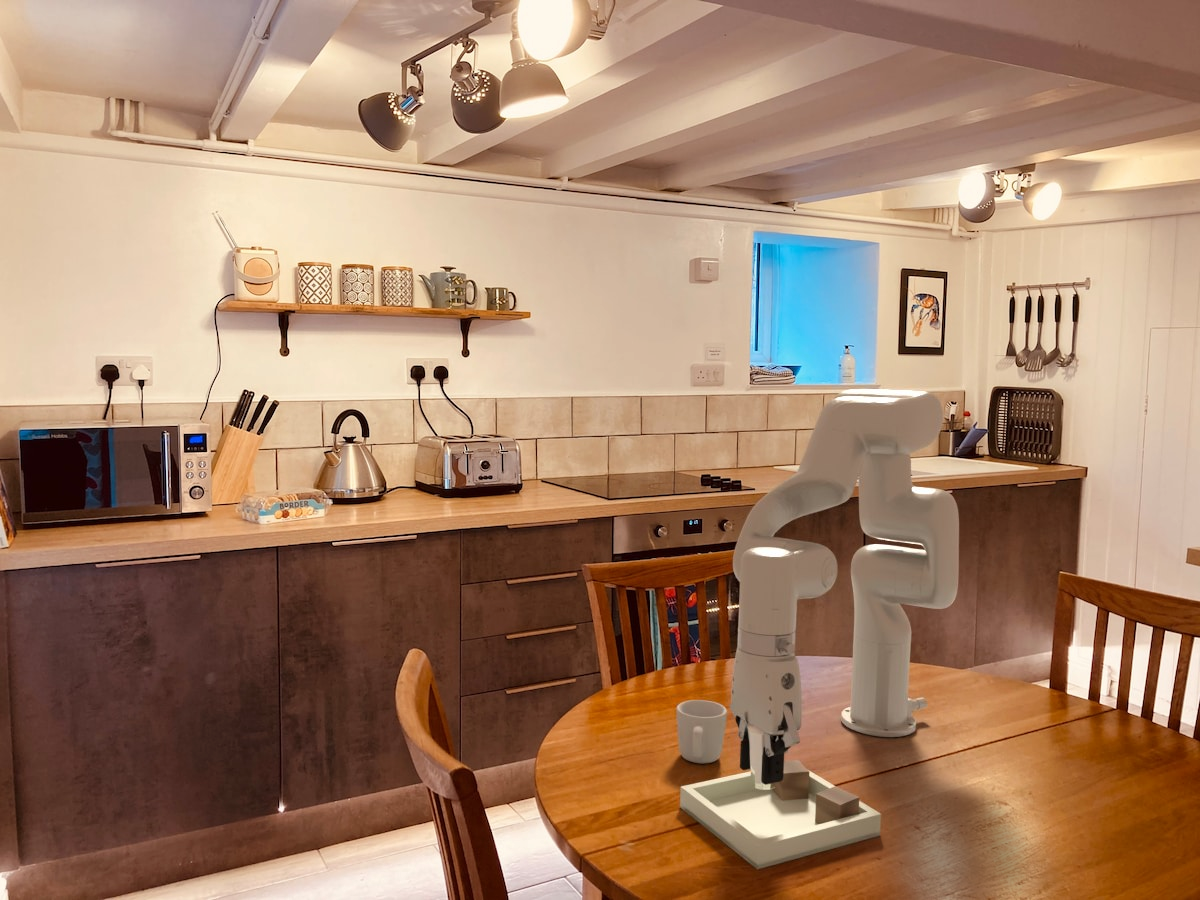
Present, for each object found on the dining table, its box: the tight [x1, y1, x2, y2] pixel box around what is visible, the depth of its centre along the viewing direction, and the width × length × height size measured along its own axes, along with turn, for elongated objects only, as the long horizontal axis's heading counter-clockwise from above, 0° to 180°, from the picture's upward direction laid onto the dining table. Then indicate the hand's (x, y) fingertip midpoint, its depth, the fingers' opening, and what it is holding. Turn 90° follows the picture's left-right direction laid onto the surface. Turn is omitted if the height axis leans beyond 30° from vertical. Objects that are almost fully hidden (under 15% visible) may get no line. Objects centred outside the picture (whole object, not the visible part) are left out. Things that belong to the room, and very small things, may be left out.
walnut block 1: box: [772, 759, 810, 801], centre depth 135 cm, size 4×4×4 cm
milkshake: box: [742, 713, 778, 790], centre depth 126 cm, size 4×5×10 cm
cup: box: [675, 699, 728, 764], centre depth 147 cm, size 11×8×8 cm
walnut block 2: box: [815, 785, 860, 824], centre depth 126 cm, size 4×4×4 cm
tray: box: [679, 769, 882, 870], centre depth 128 cm, size 20×18×3 cm
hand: (761, 773), depth 126 cm, fingers closed on milkshake, 4 cm apart
